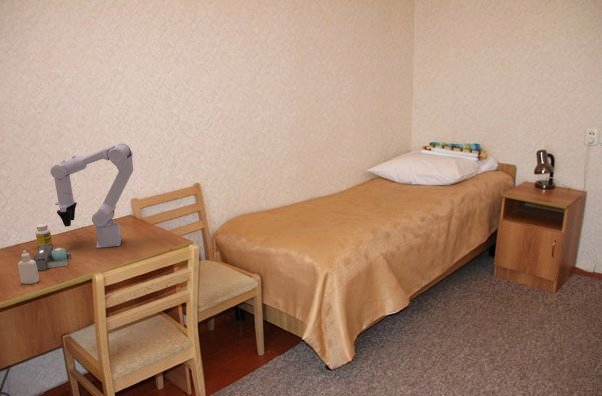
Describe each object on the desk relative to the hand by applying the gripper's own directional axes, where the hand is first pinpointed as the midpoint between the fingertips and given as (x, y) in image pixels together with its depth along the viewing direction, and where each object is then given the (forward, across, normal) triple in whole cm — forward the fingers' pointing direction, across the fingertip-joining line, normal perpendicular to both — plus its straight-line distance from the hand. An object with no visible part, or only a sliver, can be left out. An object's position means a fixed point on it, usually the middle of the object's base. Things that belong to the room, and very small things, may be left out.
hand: (69, 223), depth 196 cm
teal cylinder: (+10, +18, -1) cm, 20 cm away
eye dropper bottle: (+10, +33, -8) cm, 35 cm away
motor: (+10, +18, -3) cm, 21 cm away
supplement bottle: (+10, -1, -11) cm, 15 cm away
